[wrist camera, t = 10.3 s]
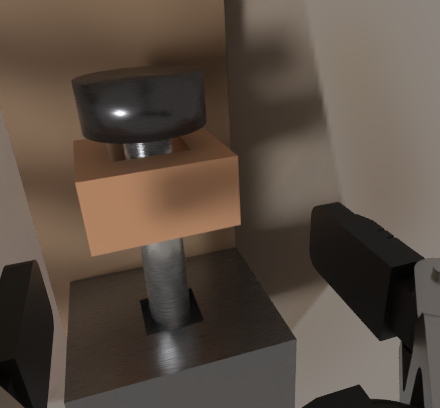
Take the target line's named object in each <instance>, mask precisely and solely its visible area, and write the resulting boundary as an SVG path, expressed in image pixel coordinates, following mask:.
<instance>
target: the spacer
mask: <svg viewBox="0 0 440 408" xmlns="http://www.w3.org/2000/svg"><path fill="white" fill-rule="evenodd" d="M172 145H173V153H168V154H161V155H155V156H149V157H142V158H136V159H130V160H123V161H117V162H112V161H111V158H110V154H109V151H108V148H107V145H106V143H101V142H95V141H91V140H88V139H82V140H75V141H73V152H74V172H75V185H76V189H77V194H78V198H79V203H80V207H81V212H82V216H83V220H84V225H85V229H86V234H87V238H88V243H89V247H90V252H91V256H92V257H93V256H97V255H102V254H107V253H111V252H116V251H121V250H125V249H130V248H135V247H139V246H144V245H149V244H153V243H158V242H163V241H167V240H172V239H177V238H181V237H186V236H191V235H195V234H200V233H205V232H209V231H214V230H219V229H223V228H228V227H233V226H237V225H241V218H240V194H239V169H238V155H236V154H235V153H234V152H233V151H231V150H230V149H229V148H228V147H227V146H225V145H224V144H223V143H222V142H220V141H219V140H218V139H217V138H215V137H214V136H213V135H212V134H211V133H209V132H208V131H207V130H206V129H204V128H203V127H202V128H201V129H199V130H197V131H195V132H192V133H190V134H187V135H183V136H180V137H176V138H172Z"/></svg>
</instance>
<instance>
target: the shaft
mask: <svg viewBox="0 0 440 408" xmlns="http://www.w3.org/2000/svg"><path fill="white" fill-rule="evenodd" d="M71 82H72V87H73V92H74V97H75V102H76V107H77V112H78V117H79V121H80V126H81V131H82V135H83V136H84V137H85V138H86V139H88V140H91V141H95V142H101V143H110V144H123V146H124V152H125V158H126V160H130V159H136V158H142V157H149V156H155V155H161V154H168V153H173V145H172V138H176V137H180V136H183V135H187V134H190V133H192V132H195V131H197V130H199V129H201V128H202V127H203V126H205V124H206V122H207V117H206V103H205V89H204V75H203V69H202V68H199V67H194V66H183V65H159V66H141V67H130V68H121V69H113V70H106V71H100V72H94V73H90V74H85V75H82V76H79V77H76V78H74V79H72V81H71ZM140 251H141V257H142V263H143V269H144V275H145V281H146V287H147V294H148V300H149V306H150V312H151V318H152V323H153V325H154V327H155V328H156V329H158V330H160V331H168V330H172V329H176V328H180V327H184V326H186V325H187V324H188V323H189V322H190V320H191V309H190V300H189V290H188V281H187V272H186V263H185V254H184V245H183V237H181V238H177V239H172V240H167V241H163V242H158V243H153V244H149V245H144V246H140Z"/></svg>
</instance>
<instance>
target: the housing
mask: <svg viewBox="0 0 440 408" xmlns="http://www.w3.org/2000/svg"><path fill="white" fill-rule="evenodd" d="M185 263H186V272H187V281H188V290H189V300H190V309H191V320H190V322H189V323H188V324H187V325H186V326H184V327H180V328H176V329H172V330H168V331H160V330H158V329H156V328H155V327H154V325H153V323H152V318H151V312H150V306H149V300H148V294H147V287H146V281H145V275H144V269H143V267H139V268H134V269H129V270H124V271H120V272H115V273H110V274H105V275H100V276H96V277H91V278H86V279H81V280H77V281H72V282H70V290H69V311H68V333H67V354H66V376H65V397H64V404H65V407H66V408H295V374H296V338H295V336H294V335H293V333H292V332H291V330H290V329H289V327H288V325H287V324H286V322H285V321H284V319H283V318H282V316H281V315H280V313H279V312H278V310H277V309H276V307H275V306H274V304H273V303H272V301H271V300H270V298H269V297H268V295H267V294H266V292H265V291H264V289H263V288H262V286H261V285H260V283H259V282H258V280H257V279H256V277H255V276H254V274H253V273H252V271H251V270H250V268H249V267H248V265H247V264H246V262H245V261H244V259H243V258H242V256H241V254H240V253H239V251H238V250H237V248H236V247H234V248H229V249H225V250H220V251H215V252H210V253H205V254H201V255H196V256H191V257H186V258H185Z"/></svg>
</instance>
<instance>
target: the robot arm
mask: <svg viewBox="0 0 440 408" xmlns="http://www.w3.org/2000/svg"><path fill="white" fill-rule="evenodd" d="M310 257H311V261H312V264H313V266H314V267H315V269H316V270H317V271H318V273H319V274H320V275H321V276H322V277H323V278H324V279H325V280H326V281H327V283H328V284H329V285H330V286H331V287H332V288H333V289H334V290H335V291H336V293H337V294H338V295H339V296H340V297H341V298H342V299H343V300H344V302H345V303H346V304H347V305H348V306H349V307H350V308H351V309H352V310H353V312H354V313H355V314H356V315H357V316H358V317H359V318H360V319H361V321H362V322H363V323H364V324H365V325H366V326H367V327H368V328H369V329H370V331H371V332H372V333H373V334H374V335H375V336H376V337H377V338H378V340H379V341H383V340H386V339H390V338H393V337H396V336H397V337H398V338H399V339H400V340H401V342H400V347H399V380H400V382H399V384H400V402H396V401H391V400H381V399H370V398H369V397H368V395H367V394H366V393H365V391H364V390H363V389H362V387H361V386H360V385H356V386H353V387H350V388H346V389H343V390H340V391H337V392H334V393H331V394H327V395H324V396H321V397H318V398H316V399H314V400H313V401H311V402H310V403H308V404H307V405H305V406H304V407H302V408H440V258H427V259H425V258H424V257H422V256H421V255H419V254H418V253H416V252H415V251H414V250H413V249H411V248H410V247H408V246H407V245H406V244H404V243H403V242H402V241H400V240H399V239H397V238H394V236H393V235H392V234H391V233H389V232H388V231H385V230H384V228H382V227H381V226H380V225H378V224H377V223H376V222H374V221H373V220H370V219H368V218H365V217H363V216H360V215H358V214H354V213H353V212H351V211H350V210H349V209H347V208H346V207H345V206H343V205H342V204H341V203H339V202H335V203H330V204H325V205H320V206H315V207H314V208H313V210H312V213H311V231H310ZM53 332H54V323H53V314H52V309H51V305H50V302H49V298H48V295H47V292H46V288H45V285H44V281H43V278H42V275H41V271H40V268H39V265H38V263H37V261H36V260H32V261H27V262H22V263H16V264H11V265H6V266H4V268H3V271H2V275H1V278H0V408H47V402H48V390H49V379H50V367H51V355H52V343H53Z"/></svg>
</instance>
